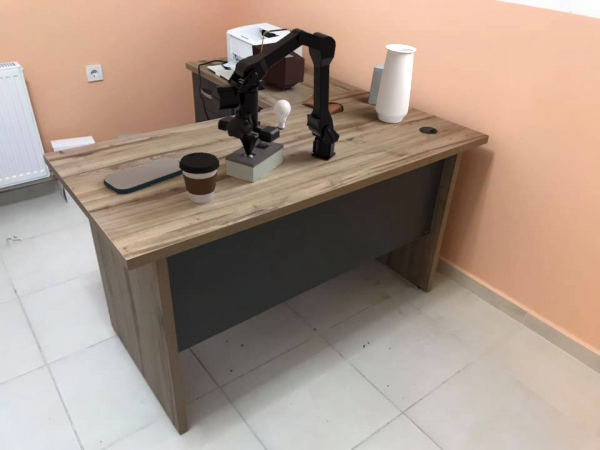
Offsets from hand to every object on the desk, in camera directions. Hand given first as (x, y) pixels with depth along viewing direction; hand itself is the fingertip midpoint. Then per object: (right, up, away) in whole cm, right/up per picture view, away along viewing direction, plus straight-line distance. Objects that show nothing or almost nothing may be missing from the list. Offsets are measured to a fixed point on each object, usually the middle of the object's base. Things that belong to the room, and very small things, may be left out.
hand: (248, 155), depth 152 cm
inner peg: (+4, +2, +7) cm, 8 cm away
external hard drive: (-31, -8, -2) cm, 32 cm away
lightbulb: (+9, +15, +36) cm, 40 cm away
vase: (+53, +22, +51) cm, 76 cm away
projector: (+6, +43, +80) cm, 91 cm away
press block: (+2, -3, +6) cm, 7 cm away
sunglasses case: (+25, +27, +58) cm, 69 cm away
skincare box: (+51, +32, +67) cm, 90 cm away
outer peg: (0, -5, +3) cm, 5 cm away
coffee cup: (-12, -14, -12) cm, 22 cm away
